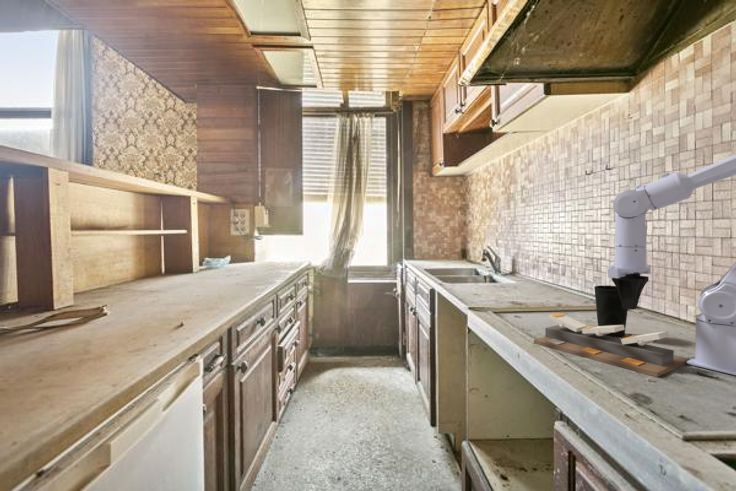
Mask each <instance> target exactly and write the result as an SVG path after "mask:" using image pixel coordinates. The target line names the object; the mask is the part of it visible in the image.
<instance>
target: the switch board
mask: <svg viewBox="0 0 736 491" xmlns="http://www.w3.org/2000/svg"><path fill="white" fill-rule="evenodd" d="M544 329H545V331H544V332H545V335H544V336H543V337H540V338H536V339H533V344H535V345H539V346H543V347H546V348H550V349H554V350H557V351H561V352H565V353H569V354H572V355H576V356H579V357H583V358H587V359H590V360H594V361H597V362H601V363H604V364H608V365H611V364H612V366H615V365H617V366H616V367H619V366H620V367H619V368H622V367H623V369H626V368H627V369H626V370H629V369H630V371H633V370H634V371H633V372H638V373H641V374H645V375H648V376H651V377H655V378H658V377H661V376H663V375H665V374H667V373H669V372H672V371H674V370H676V369H678V368H680V367H682V366H685V365H688V364H687V363H686V361H688V360H690V358H689V357H685V356H684V357H683V356H680V355H675V354H674V353H675V352H674V351H675V350H674V349H671V348H666V347H660V346H656V345H652V344H645V345H642V346H641V345H639V344H638V342H637V343H629V344H622V342H621V339H622V338H621V337H610V336H606V335H602V336H597V335H596V333H586V334H583V333H582V331H579V332H575V331H573V330H571V329H569V328H567V327H565V328H561V327H560V326H559V324H557V325H553V326H548V327H545V328H544Z"/></svg>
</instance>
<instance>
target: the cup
mask: <svg viewBox="0 0 736 491" xmlns="http://www.w3.org/2000/svg"><path fill="white" fill-rule="evenodd" d="M593 288H594V299H595V306H596V307H595V308H596V317H597V320H596V321H597V326H611V325H624V328H625V330H621V331H618V332H611V333H609V334H606V336H610V337H615V338H625V336H626V335H625V334H626V329H627V328H626V327H627V319H628V310H629V309H625V308H623V306H622V303H621V299H620V295H619V292H618V290H617V288H616V286H615V285H595V286H594V287H593Z"/></svg>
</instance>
